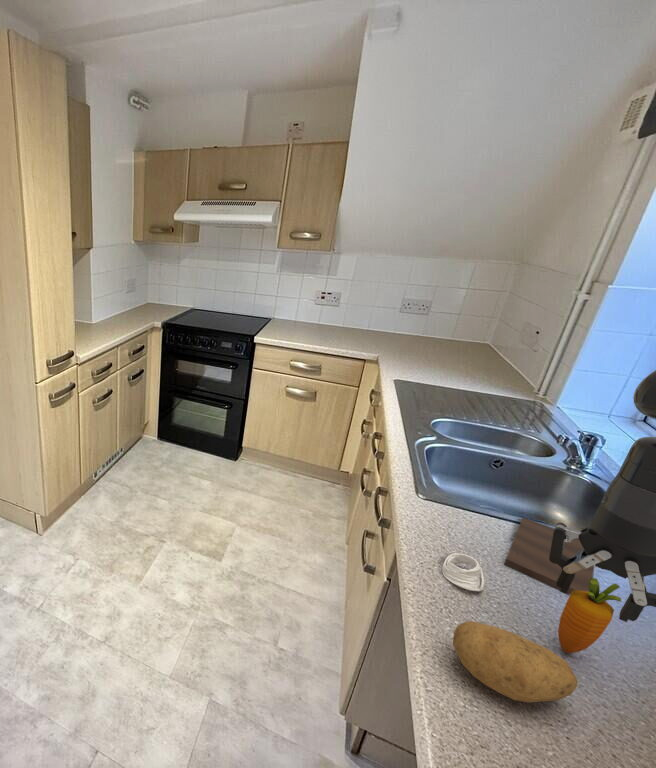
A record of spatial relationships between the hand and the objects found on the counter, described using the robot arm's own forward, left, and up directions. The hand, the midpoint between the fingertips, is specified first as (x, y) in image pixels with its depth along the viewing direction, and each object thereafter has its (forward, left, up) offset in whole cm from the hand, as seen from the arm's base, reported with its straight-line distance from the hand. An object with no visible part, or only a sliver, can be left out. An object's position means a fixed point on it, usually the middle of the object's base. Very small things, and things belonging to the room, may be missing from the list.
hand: (591, 602), depth 62 cm
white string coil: (+7, -14, -11) cm, 19 cm away
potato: (+14, +6, -11) cm, 19 cm away
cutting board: (-15, -22, -11) cm, 29 cm away
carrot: (0, 0, -11) cm, 11 cm away
